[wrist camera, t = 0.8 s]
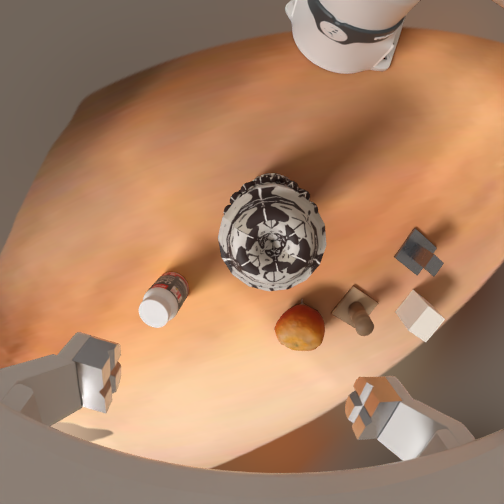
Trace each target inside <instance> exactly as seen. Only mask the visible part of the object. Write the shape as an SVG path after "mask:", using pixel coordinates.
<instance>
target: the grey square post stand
mask: <svg viewBox="0 0 504 504" xmlns="http://www.w3.org/2000/svg"><path fill="white" fill-rule="evenodd" d="M436 249H437V248H436V247H435V246H434V245H433V244H432V243H431V242H430V241H429V240H427V239H426V238H425V237H424V236H423V235H422V234H421V233H420V232H419V231H417V230H416V229H415V228H414V229H413V230H412V232H411V233H410V235H409V236H408V238H407V239H406V241H405V242H404V243H403V245H402V246H401V248H400V249H399V250H398V252H397V253H396V255H395V256H394V257H395V258H396V259H397V260H398V261H400V262H401V263H402V264H403V265H405V266H406V267H407V268H408V269H410V270H411V271H412V272H413V273H414V274H416V275H418V274H419V273H420V271H421V270H422V269H423V268H424V269H425V270H426V271H428V272H429V273H430V274H431V275H433V276H435V275H436V274H437V272H438V271H439V269H440V268H441V267H442V265H443V264H444V263H443V262H442V261H441V260H440V259H439V258H438V257H437V256H436V255H434V254H433V253H434V252H435V250H436Z"/></svg>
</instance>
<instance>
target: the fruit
mask: <svg viewBox="0 0 504 504" xmlns="http://www.w3.org/2000/svg"><path fill="white" fill-rule="evenodd" d="M275 332H276V335H277V338H278V340H279V342H280V343H281V344H282V345H285V346H286V347H288V348H290V349H292V350H298V351H310V350H314V349H316V348H317V347H318V346H320V345H321V343H322V341H323V337H324V332H325V326H324V321H323V318H322V317H321V315H320V314H319V312H318V311H317V310H315V309H313V308H311V307H309V306H307V305H306V304H304V303H303V299H302V300H301V304H300V305H295V306H294V307H292V308H290V309H288V310H287V311H286V312H285V313H284V314H283V315H282V316H281V317H280V319H279V320H278V322H277V323H276V326H275Z"/></svg>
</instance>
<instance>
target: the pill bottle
mask: <svg viewBox="0 0 504 504" xmlns="http://www.w3.org/2000/svg"><path fill="white" fill-rule="evenodd" d="M188 293H189V287H188V283H187V281H186V280H185V279H184V277H182V276H181V275H180V274H178V273H174V272H168V273H165V274H163V275H162V276H160V278H159V279H158V280H157V281H156V282H155V283H154V284H153V285H152V286H151V288H150V289H149V290H148V291H147V292H146V294H145V295H144V298H143V301H142V303H141V304H140V306H139V315H140V317H141V319H142V320H143V321H144V322H145V323H146V324H147V325H149V326H151V327H156V328H159V327H162V326H164V325H165V324H166V323H167V322H168V321H169V320H171V319H173V318H174V317H175V315H176V314H177V312H178V311H179V309H180V307H181V306H182V304H183V302H184V301H185V299H186V298H187V296H188Z"/></svg>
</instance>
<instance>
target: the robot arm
mask: <svg viewBox="0 0 504 504" xmlns="http://www.w3.org/2000/svg"><path fill="white" fill-rule="evenodd" d="M420 1H421V0H292V1H290V2H289V3H288V4H287V5H286V7H285V11H286V14H287V15H288V17H289V19H290V20H291V22H292V31H293V37H294V40H295V43H296V45H297V46H298V48H299V49H300V51H301V52H302V53H303V54H304V55H305V56H306V57H307V58H308V59H309V60H310V61H311V62H313V63H314V64H316V65H318V66H319V67H321V68H324V69H326V70H329V71H332V72H337V73H345V74H347V73H357V72H360V71H364V70H376V71H386V70H387V69H388V68H389V66H390V63H391V60H392V57H393V54H394V51H395V48H396V45H397V42H398V39H399V36H400V33H401V30H402V26H403V23H404V20H405V17H406V14H407V13H408V12H409V11H410V10H411V9H412V8H413V7H414V6H415V5H416V4H417V3H418V2H420ZM492 1H493V2H495V3H496V4H498V5H499V6H501V7H502V8H504V0H492ZM384 57H385V58H386V60H384V59H383V58H384ZM120 356H121V346H120V344H118V343H115V342H111V341H108V340H105V339H101V338H98V337H95V336H91V335H88V334H85V333H81V332H77V333H76V334H75V335H74V336H73V337H72V338H71V340H70V341H69V342H68V343H67V344H66V345H65V346H64V348H63V349H62V350H61V351H60V352H59V353H58V355H54V354H52V355H49V356H45V357H42V358H38V359H35V360H31V361H27V362H24V363H20V364H17V365H13V366H9V367H6V368H2V369H0V504H504V429H502V430H500V431H497V432H495V433H493V434H490V435H488V436H485V437H483V438H480V439H477V440H476V439H475V438H474V437H473V436H472V434H471V433H470V432H469V431H468V429H467V428H466V427H465V426H464V425H463V423H461V422H459V421H457V420H455V419H453V418H451V417H449V416H447V415H445V414H443V413H441V412H439V411H437V410H435V409H433V408H431V407H429V406H427V405H425V404H424V403H422V402H420V401H418V400H414V399H413V398H412V397H411V396H410V395H409V393H408V392H407V390H406V389H405V388H404V387H403V385H402V384H401V383H400V381H399V380H398V379H397V378H396V377H394V376H383V377H359V378H358V379H357V380H356V382H355V384H354V389H355V391H354V392H352V393H351V394H350V395H349V396H348V399H347V401H346V405H345V412H346V416H347V418H348V419H349V420H350V421H351V422H353V426H352V429H353V431H354V433H355V435H356V437H357V439H358V440H361V439H375V438H378V440H379V441H380V442H381V443H383V445H385V446H386V447H387V448H388V449H390V450H391V451H392V452H393V453H394V454H396V455H397V456H398V457H399V458H401V459H402V460H403V461H400V462H395V463H390V464H385V465H379V466H373V467H366V468H358V469H350V470H341V471H329V472H313V473H251V472H235V471H224V470H214V469H206V468H198V467H191V466H185V465H179V464H173V463H168V462H163V461H158V460H153V459H149V458H145V457H140V456H136V455H132V454H128V453H125V452H121V451H118V450H114V449H111V448H107V447H104V446H101V445H98V444H95V443H92V442H89V441H86V440H83V439H80V438H78V437H75V436H72V435H69V434H67V433H64V432H61V431H59V430H57V429H54V428H52V427H50V426H51V425H53V424H55V423H57V422H58V421H60V420H62V419H63V418H65V417H67V416H69V415H70V414H72V413H74V412H75V411H77V410H79V409H80V408H82V406H83V407H86V408H89V409H93V410H96V411H100V412H103V413H107V411H108V408H109V406H110V404H111V402H112V393H114V392H116V391H117V389H118V386H119V383H120V379H121V365H120V363H119V362H118V360H119V358H120Z"/></svg>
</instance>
